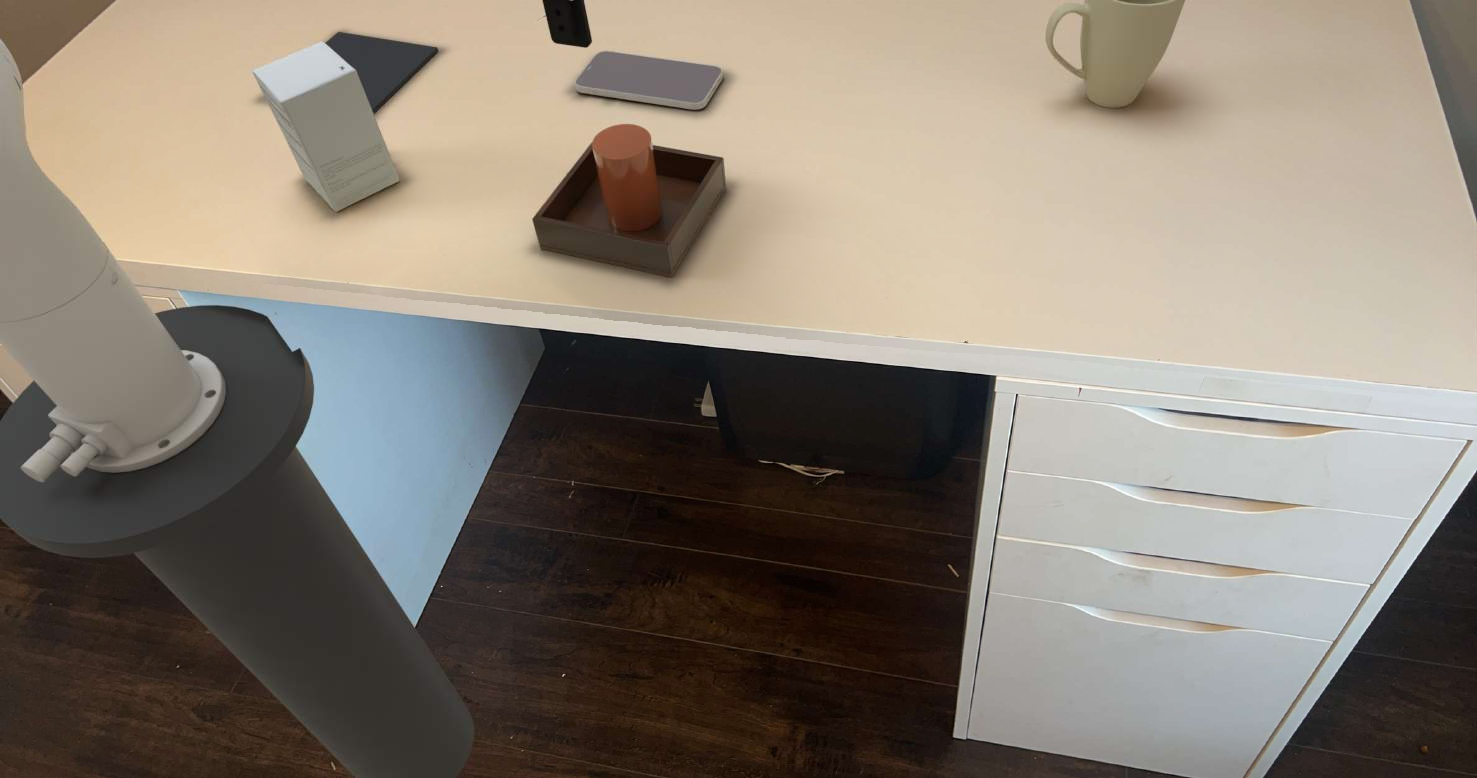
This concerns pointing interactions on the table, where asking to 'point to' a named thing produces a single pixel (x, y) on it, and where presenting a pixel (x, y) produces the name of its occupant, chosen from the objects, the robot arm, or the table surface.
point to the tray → (585, 232)
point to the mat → (380, 63)
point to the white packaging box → (328, 124)
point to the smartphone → (649, 79)
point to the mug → (1118, 45)
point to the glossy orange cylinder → (627, 176)
